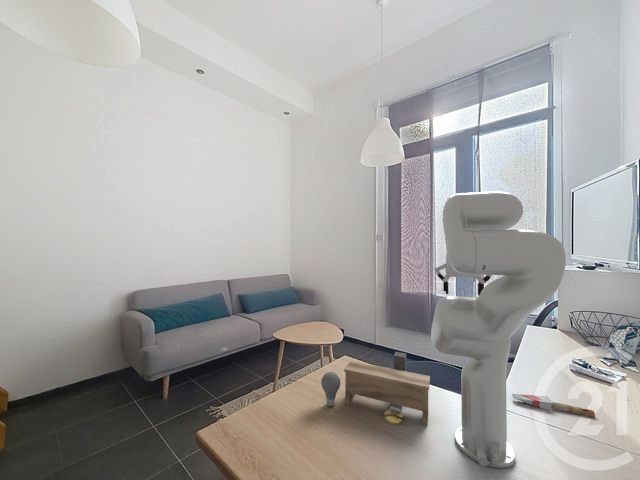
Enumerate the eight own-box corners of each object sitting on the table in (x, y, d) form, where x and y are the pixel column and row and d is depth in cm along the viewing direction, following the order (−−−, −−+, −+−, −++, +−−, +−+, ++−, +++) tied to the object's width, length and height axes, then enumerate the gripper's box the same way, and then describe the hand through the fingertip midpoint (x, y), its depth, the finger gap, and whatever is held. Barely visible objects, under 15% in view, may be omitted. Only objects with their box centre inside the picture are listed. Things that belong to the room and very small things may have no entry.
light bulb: (344, 405, 82) (344, 372, 82) (331, 413, 78) (331, 379, 78) (329, 397, 86) (329, 366, 87) (317, 405, 82) (317, 372, 82)
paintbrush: (510, 388, 87) (590, 405, 79) (510, 396, 87) (589, 415, 79) (514, 394, 84) (597, 413, 76) (513, 402, 84) (597, 422, 76)
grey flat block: (401, 416, 77) (401, 367, 77) (389, 412, 78) (389, 365, 79) (406, 395, 88) (406, 353, 88) (395, 393, 89) (395, 351, 89)
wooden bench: (429, 426, 72) (429, 387, 73) (343, 403, 83) (344, 369, 83) (430, 412, 79) (430, 376, 79) (350, 392, 89) (350, 360, 89)
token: (401, 428, 72) (401, 422, 72) (383, 423, 74) (383, 417, 74) (403, 417, 77) (403, 412, 77) (386, 413, 79) (386, 407, 79)
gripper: (490, 243, 87) (491, 294, 87) (434, 243, 94) (434, 291, 94) (495, 243, 80) (496, 299, 80) (434, 242, 87) (434, 294, 87)
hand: (462, 294), depth 87 cm, fingers open, 9 cm apart
